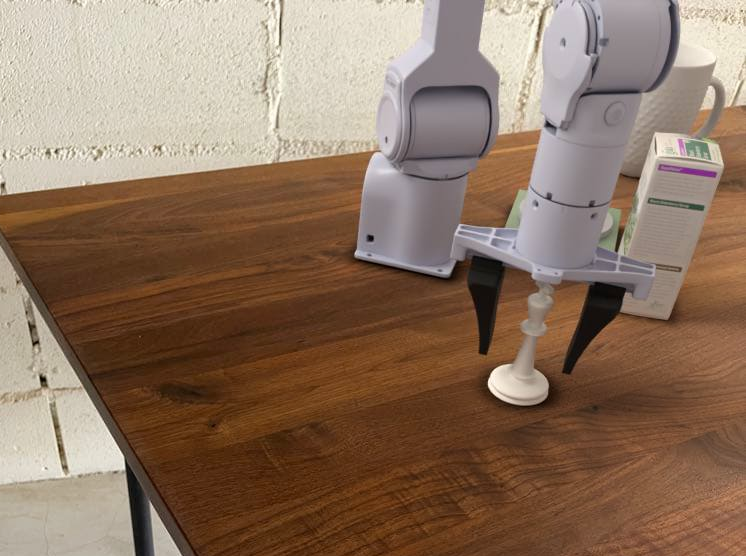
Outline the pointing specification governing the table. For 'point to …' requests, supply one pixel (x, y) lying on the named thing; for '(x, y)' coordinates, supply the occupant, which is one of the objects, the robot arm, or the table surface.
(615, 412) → the table surface
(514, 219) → the scale
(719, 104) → the mug
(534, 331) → the chess piece
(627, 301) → the syrup box
